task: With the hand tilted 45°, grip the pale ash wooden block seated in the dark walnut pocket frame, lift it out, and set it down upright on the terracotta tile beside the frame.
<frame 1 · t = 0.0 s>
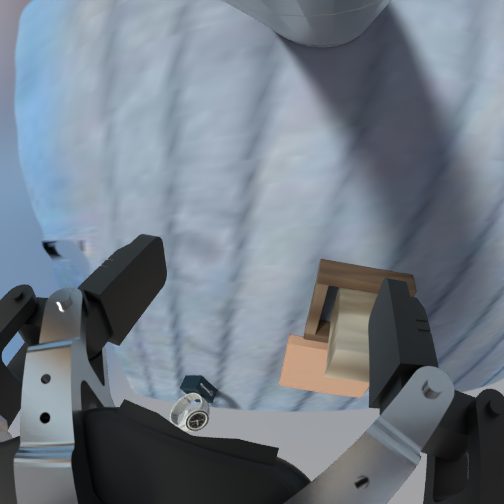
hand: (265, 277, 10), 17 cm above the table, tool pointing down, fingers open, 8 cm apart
walnut pocket frame: (356, 302, 32), on the table
terracotta tile: (330, 366, 40), on the table
ash block: (356, 331, 29), in the walnut pocket frame
watch: (202, 382, 54), on the table
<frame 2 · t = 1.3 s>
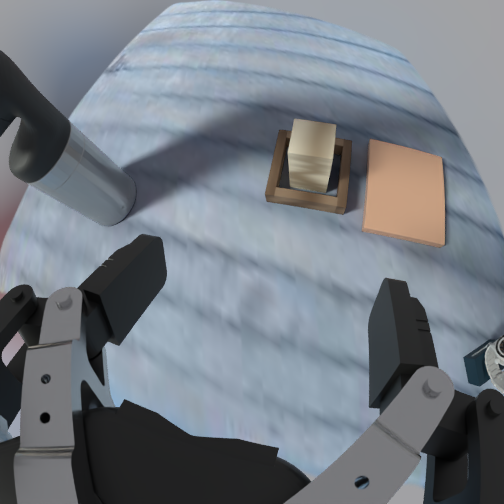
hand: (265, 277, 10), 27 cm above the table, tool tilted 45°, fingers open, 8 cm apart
walnut pocket frame: (310, 174, 40), on the table
terracotta tile: (405, 192, 37), on the table
ash block: (311, 157, 35), in the walnut pocket frame
watch: (478, 360, 30), on the table
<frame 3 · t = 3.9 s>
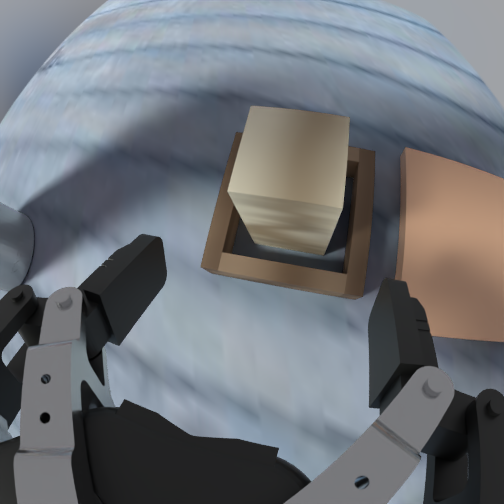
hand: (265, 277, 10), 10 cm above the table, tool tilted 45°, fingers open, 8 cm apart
walnut pocket frame: (295, 216, 21), on the table
terracotta tile: (462, 249, 19), on the table
ash block: (294, 191, 17), in the walnut pocket frame
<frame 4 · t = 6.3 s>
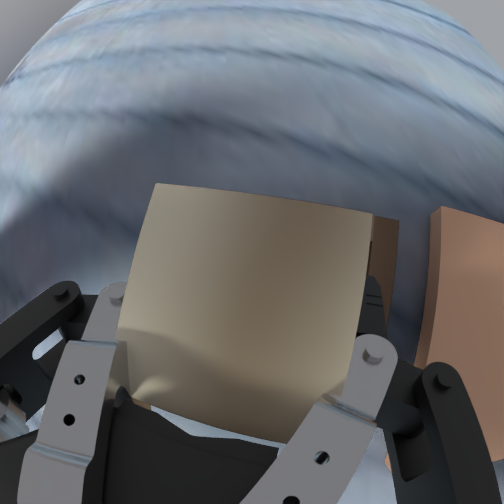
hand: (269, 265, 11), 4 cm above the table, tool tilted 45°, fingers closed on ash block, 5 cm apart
walnut pocket frame: (269, 317, 14), on the table
terracotta tile: (497, 348, 12), on the table
ash block: (258, 315, 10), in the walnut pocket frame, touching gripper
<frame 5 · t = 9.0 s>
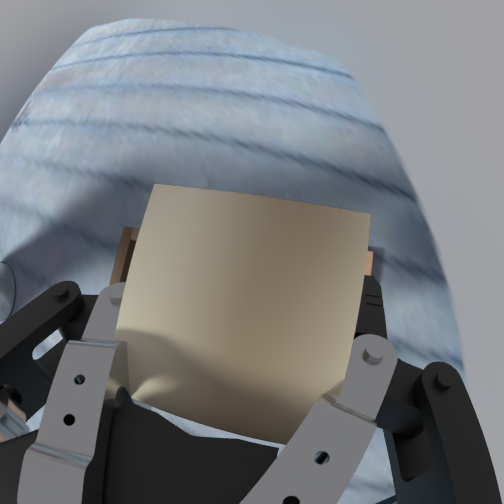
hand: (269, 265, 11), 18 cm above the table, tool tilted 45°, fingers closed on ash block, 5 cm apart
walnut pocket frame: (163, 287, 30), on the table
ash block: (257, 316, 10), point 18 cm above the table, touching gripper
when the fingers open (7 cm above the table, at t = 11.6 s): ash block drops 1 cm, resting on terracotta tile.
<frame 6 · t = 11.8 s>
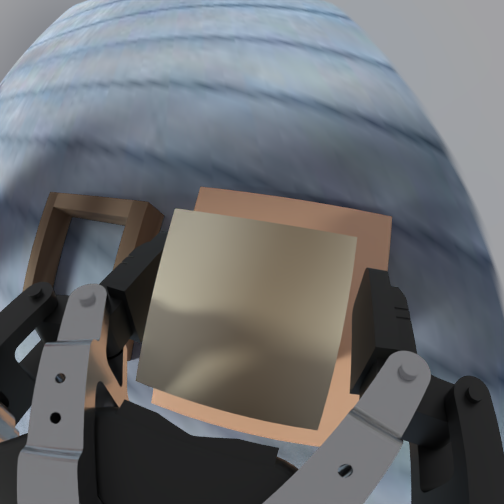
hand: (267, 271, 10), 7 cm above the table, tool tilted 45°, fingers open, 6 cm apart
walnut pocket frame: (90, 272, 20), on the table
terracotta tile: (273, 318, 17), on the table
ash block: (261, 318, 11), on the terracotta tile, point 6 cm above the table
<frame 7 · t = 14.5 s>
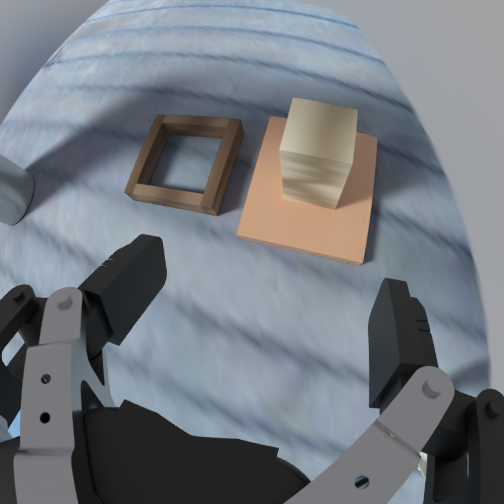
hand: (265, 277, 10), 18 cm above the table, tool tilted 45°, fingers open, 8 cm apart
walnut pocket frame: (187, 165, 32), on the table
terracotta tile: (313, 186, 29), on the table
ash block: (317, 158, 23), on the terracotta tile, point 6 cm above the table
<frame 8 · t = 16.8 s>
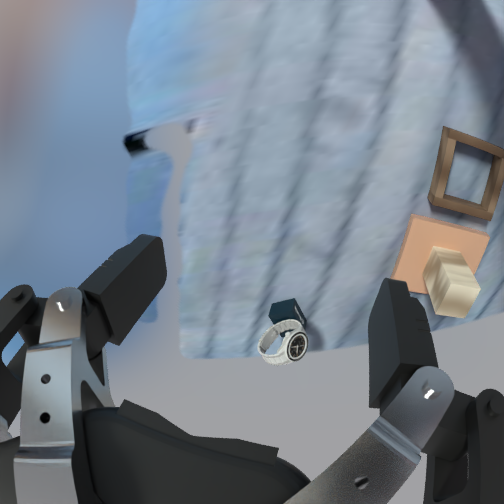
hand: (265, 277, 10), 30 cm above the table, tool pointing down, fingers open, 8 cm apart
walnut pocket frame: (466, 172, 31), on the table
terracotta tile: (439, 257, 38), on the table
ash block: (449, 280, 33), on the terracotta tile, point 6 cm above the table
watch: (290, 311, 51), on the table
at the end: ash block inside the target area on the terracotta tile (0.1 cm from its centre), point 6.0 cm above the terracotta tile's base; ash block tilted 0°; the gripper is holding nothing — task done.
